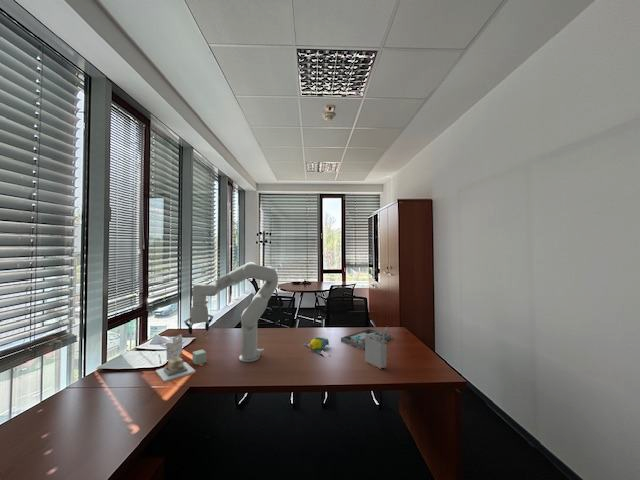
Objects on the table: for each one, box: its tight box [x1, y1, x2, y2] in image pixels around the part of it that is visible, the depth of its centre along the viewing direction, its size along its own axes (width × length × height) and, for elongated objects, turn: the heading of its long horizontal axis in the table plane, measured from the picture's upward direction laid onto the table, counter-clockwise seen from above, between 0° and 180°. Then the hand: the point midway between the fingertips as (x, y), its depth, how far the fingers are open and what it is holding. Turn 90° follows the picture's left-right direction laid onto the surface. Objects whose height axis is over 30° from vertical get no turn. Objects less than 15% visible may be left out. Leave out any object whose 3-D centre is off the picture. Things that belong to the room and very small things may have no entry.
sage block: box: [192, 349, 207, 365], centre depth 174 cm, size 6×6×6 cm
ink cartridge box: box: [165, 333, 183, 361], centre depth 177 cm, size 9×5×15 cm, turn 168°
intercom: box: [349, 331, 382, 345], centre depth 216 cm, size 13×4×25 cm
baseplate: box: [155, 361, 196, 383], centre depth 160 cm, size 16×16×2 cm
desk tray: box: [340, 327, 392, 350], centre depth 212 cm, size 33×21×3 cm, turn 133°
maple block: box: [167, 357, 184, 373], centre depth 160 cm, size 6×6×6 cm
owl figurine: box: [303, 337, 330, 355], centre depth 195 cm, size 28×9×15 cm
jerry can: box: [364, 326, 390, 368], centre depth 169 cm, size 15×5×25 cm, turn 35°
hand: (198, 332), depth 174 cm, fingers open, 9 cm apart
